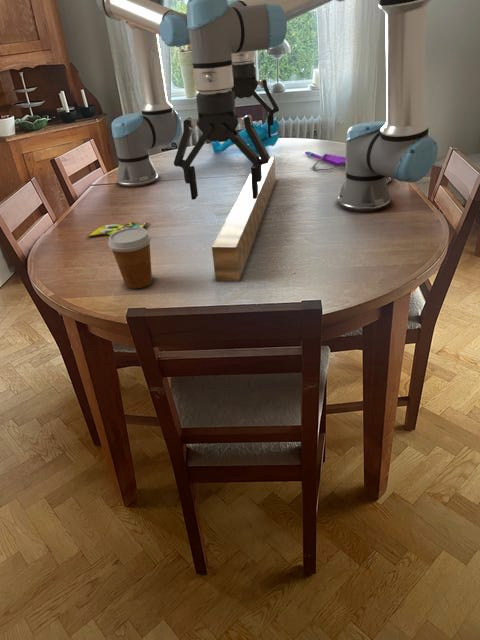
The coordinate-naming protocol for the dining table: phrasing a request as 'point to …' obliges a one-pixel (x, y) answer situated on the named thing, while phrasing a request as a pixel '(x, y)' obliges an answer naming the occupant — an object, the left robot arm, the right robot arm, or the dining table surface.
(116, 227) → the toy
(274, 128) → the toy
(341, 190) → the right robot arm
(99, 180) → the dining table surface
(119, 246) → the disposable coffee cup
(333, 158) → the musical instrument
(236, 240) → the post
